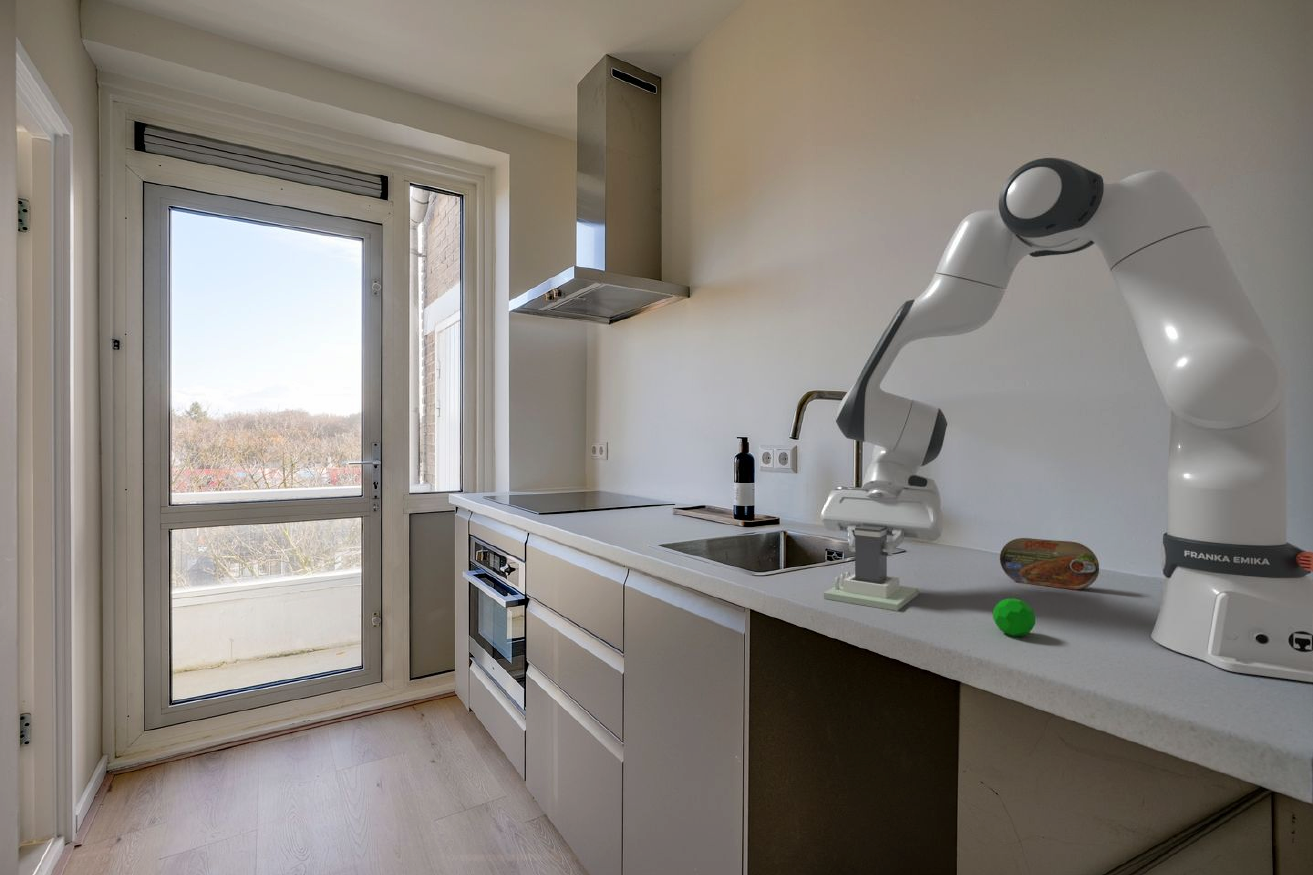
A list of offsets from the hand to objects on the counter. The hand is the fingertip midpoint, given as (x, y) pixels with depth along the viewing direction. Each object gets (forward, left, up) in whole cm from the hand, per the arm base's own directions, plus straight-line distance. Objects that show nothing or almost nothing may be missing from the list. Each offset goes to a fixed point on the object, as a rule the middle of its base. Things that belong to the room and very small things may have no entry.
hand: (869, 552), depth 102 cm
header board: (0, -1, -8) cm, 8 cm away
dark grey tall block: (0, -1, -5) cm, 5 cm away
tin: (-23, -27, -8) cm, 37 cm away
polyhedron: (-22, +7, -8) cm, 24 cm away
